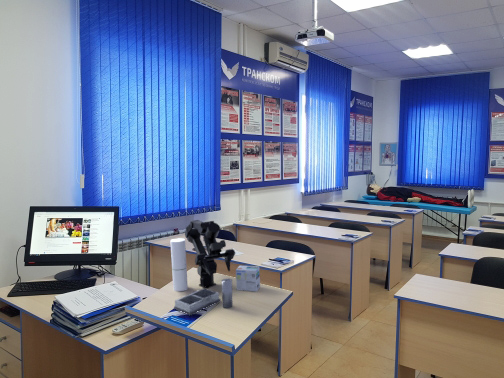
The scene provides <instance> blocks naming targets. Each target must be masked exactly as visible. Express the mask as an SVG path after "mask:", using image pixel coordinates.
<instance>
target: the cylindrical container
mask: <svg viewBox="0 0 504 378" xmlns="http://www.w3.org/2000/svg"><path fill="white" fill-rule="evenodd" d="M169 243H170V255H171V270H172V271H171V272H172V273H171V274H172V287H173V288H172V290H173V291H174V292H183V291H186V290H188V288H189V286H188V285H189V284H188V270H187V268H188V265H187V253H186V239H185V238H183V237H182V238H181V237H179V238H172V239H170V241H169Z"/></svg>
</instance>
